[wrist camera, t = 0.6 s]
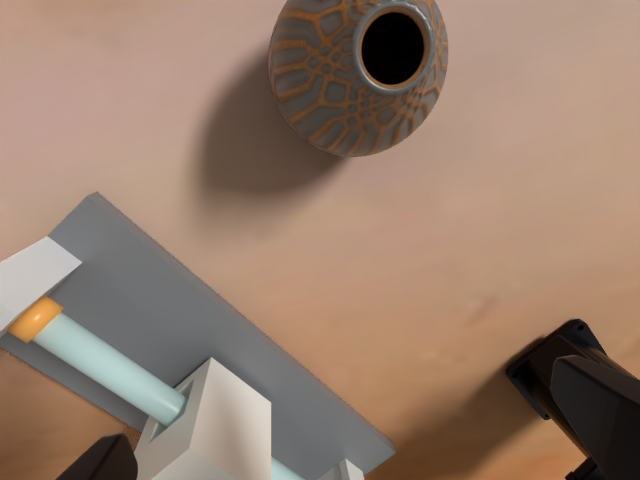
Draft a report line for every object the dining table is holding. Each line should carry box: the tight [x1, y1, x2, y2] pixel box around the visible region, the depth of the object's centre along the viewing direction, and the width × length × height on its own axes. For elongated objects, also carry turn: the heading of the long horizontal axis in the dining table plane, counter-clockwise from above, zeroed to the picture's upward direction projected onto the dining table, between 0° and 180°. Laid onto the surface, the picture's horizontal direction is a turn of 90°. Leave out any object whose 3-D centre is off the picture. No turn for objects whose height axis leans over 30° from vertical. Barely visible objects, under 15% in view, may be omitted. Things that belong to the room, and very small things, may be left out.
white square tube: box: [134, 357, 271, 480], centre depth 19 cm, size 5×5×6 cm
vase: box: [268, 0, 448, 157], centre depth 14 cm, size 7×7×9 cm
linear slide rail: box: [0, 192, 395, 480], centre depth 20 cm, size 26×10×6 cm, turn 41°
